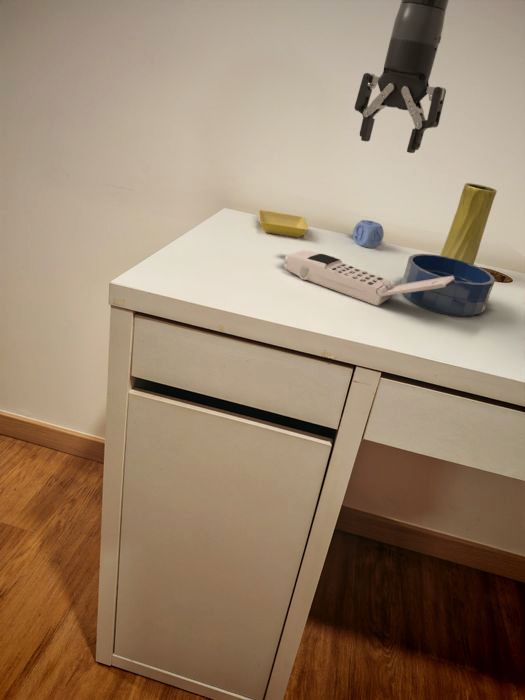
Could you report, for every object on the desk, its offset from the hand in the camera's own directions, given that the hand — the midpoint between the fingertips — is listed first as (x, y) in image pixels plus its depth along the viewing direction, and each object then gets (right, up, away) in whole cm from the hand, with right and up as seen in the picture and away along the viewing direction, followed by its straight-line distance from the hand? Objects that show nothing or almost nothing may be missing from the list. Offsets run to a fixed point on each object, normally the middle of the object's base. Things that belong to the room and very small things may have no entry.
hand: (387, 146), depth 99 cm
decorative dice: (-2, -15, +8) cm, 18 cm away
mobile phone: (-8, -26, -16) cm, 32 cm away
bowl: (+5, -27, -13) cm, 31 cm away
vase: (+12, -21, +3) cm, 24 cm away
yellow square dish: (-18, -13, +7) cm, 23 cm away
